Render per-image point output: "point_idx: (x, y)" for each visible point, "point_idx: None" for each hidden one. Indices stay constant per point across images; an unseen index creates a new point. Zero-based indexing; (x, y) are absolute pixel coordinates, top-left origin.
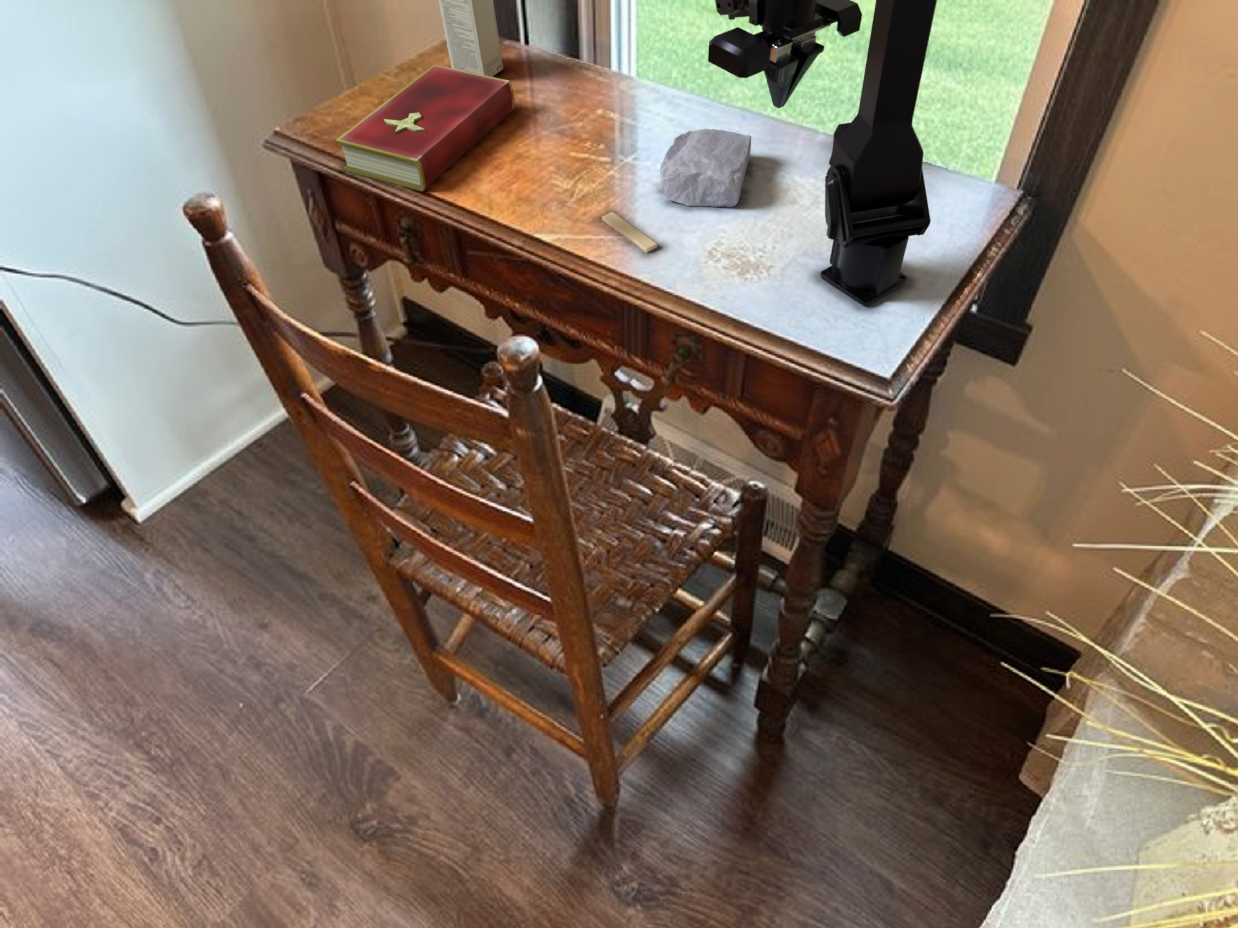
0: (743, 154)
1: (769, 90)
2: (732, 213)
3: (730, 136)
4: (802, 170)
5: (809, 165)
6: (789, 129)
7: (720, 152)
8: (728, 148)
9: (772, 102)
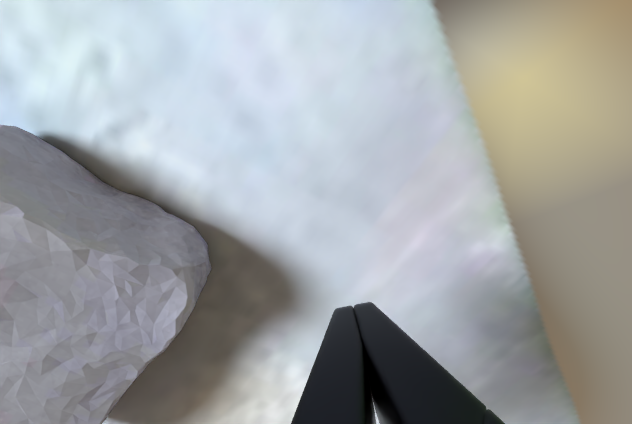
0: (108, 395)
1: (312, 371)
2: None
3: (90, 304)
4: None
5: None
6: (449, 153)
7: (3, 388)
8: (53, 365)
9: (332, 316)
